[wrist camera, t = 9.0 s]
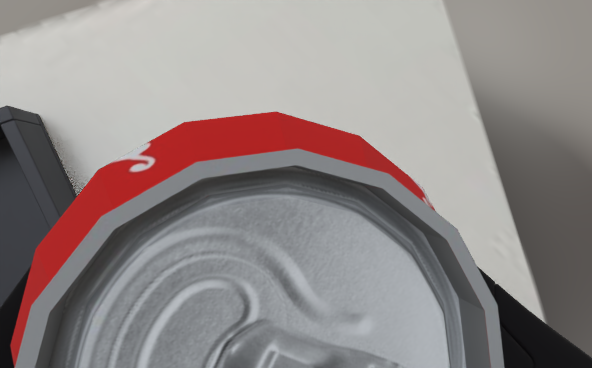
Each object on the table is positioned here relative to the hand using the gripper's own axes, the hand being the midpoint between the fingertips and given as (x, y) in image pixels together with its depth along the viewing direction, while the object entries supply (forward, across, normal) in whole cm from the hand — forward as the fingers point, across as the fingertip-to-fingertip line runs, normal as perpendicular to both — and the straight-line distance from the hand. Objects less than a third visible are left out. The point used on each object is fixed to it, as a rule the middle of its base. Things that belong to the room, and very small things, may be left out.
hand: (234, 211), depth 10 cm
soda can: (+4, 0, +6) cm, 7 cm away
